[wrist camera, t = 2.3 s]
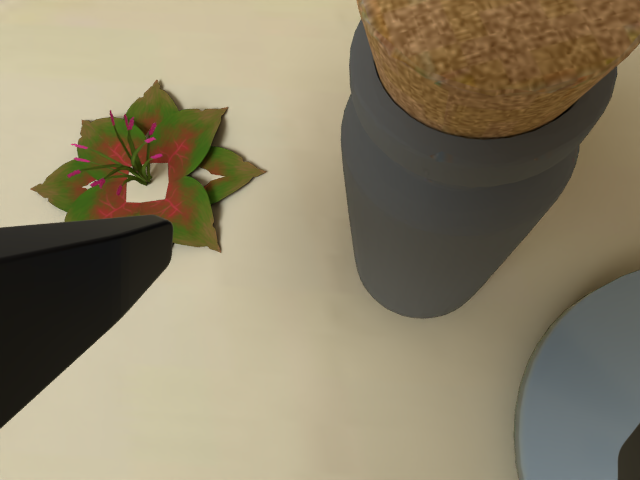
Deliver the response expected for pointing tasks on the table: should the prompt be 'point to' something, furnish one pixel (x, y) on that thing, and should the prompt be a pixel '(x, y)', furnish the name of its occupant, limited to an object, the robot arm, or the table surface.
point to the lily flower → (134, 150)
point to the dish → (582, 388)
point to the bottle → (467, 133)
